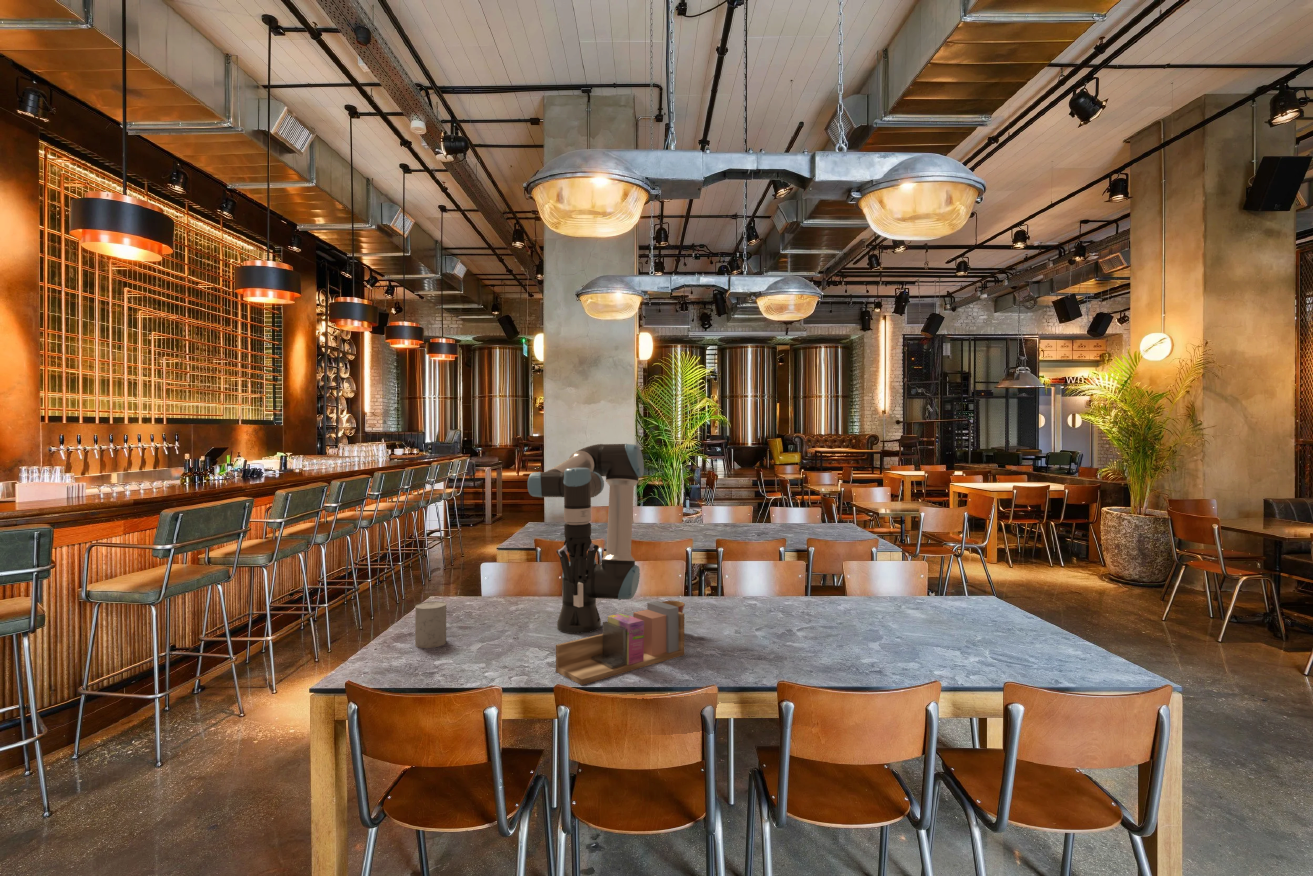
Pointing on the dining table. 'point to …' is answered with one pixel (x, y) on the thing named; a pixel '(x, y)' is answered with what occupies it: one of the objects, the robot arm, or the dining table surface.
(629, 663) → the box
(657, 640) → the row books
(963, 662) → the dining table surface
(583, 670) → the wooden desk organizer
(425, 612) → the grey stone cylinder
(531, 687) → the dining table surface
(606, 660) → the bookend
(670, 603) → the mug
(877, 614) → the dining table surface
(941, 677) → the dining table surface
